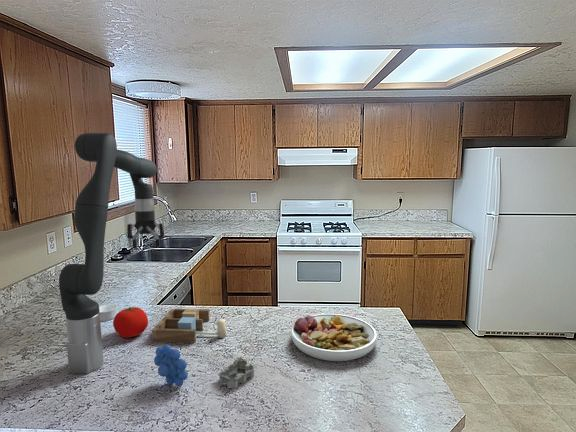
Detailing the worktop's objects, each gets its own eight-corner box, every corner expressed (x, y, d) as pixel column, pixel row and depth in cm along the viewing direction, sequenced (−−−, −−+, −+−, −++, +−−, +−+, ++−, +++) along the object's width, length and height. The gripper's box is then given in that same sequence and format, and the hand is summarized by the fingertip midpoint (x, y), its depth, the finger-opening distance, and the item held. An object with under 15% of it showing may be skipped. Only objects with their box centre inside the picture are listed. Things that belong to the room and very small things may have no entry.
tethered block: (224, 339, 138) (223, 323, 137) (178, 338, 139) (177, 322, 138) (227, 333, 143) (226, 318, 142) (183, 332, 144) (182, 317, 143)
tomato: (134, 325, 150) (132, 300, 148) (155, 332, 144) (153, 306, 142) (108, 337, 140) (106, 310, 139) (129, 345, 134) (127, 316, 132)
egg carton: (242, 367, 120) (242, 355, 119) (258, 376, 115) (258, 363, 114) (215, 381, 112) (214, 368, 112) (231, 391, 107) (231, 378, 107)
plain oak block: (195, 328, 147) (194, 313, 147) (182, 328, 148) (182, 313, 147) (199, 322, 152) (198, 308, 152) (186, 322, 153) (186, 308, 152)
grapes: (145, 387, 109) (142, 348, 107) (161, 375, 115) (159, 338, 113) (177, 397, 104) (175, 356, 103) (193, 384, 110) (191, 345, 109)
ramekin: (89, 321, 154) (89, 310, 154) (105, 312, 163) (104, 303, 162) (108, 323, 152) (107, 312, 152) (122, 314, 161) (122, 304, 160)
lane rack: (194, 343, 135) (194, 331, 135) (152, 341, 136) (151, 330, 136) (209, 319, 155) (209, 309, 154) (172, 318, 156) (172, 308, 155)
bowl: (378, 330, 146) (378, 311, 145) (373, 372, 117) (374, 348, 116) (302, 321, 154) (302, 303, 153) (281, 358, 125) (281, 336, 124)
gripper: (124, 210, 151) (126, 250, 153) (161, 210, 153) (162, 249, 155) (129, 208, 158) (131, 246, 161) (164, 208, 160) (165, 245, 163)
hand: (146, 248), depth 158 cm, fingers open, 8 cm apart
